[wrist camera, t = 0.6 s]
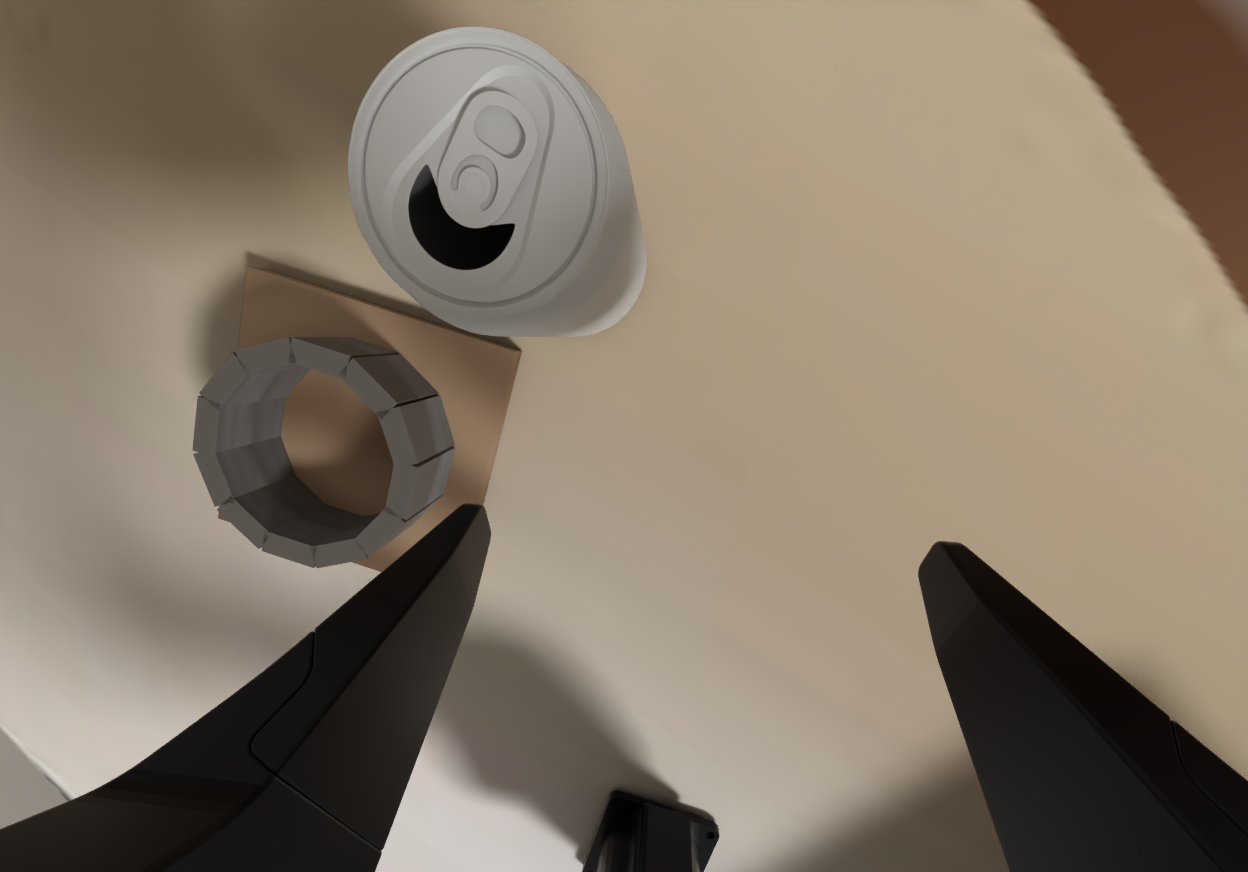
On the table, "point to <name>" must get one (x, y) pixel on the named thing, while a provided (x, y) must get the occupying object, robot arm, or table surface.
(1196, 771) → the robot arm
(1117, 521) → the table surface
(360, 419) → the can holder
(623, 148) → the beverage can
